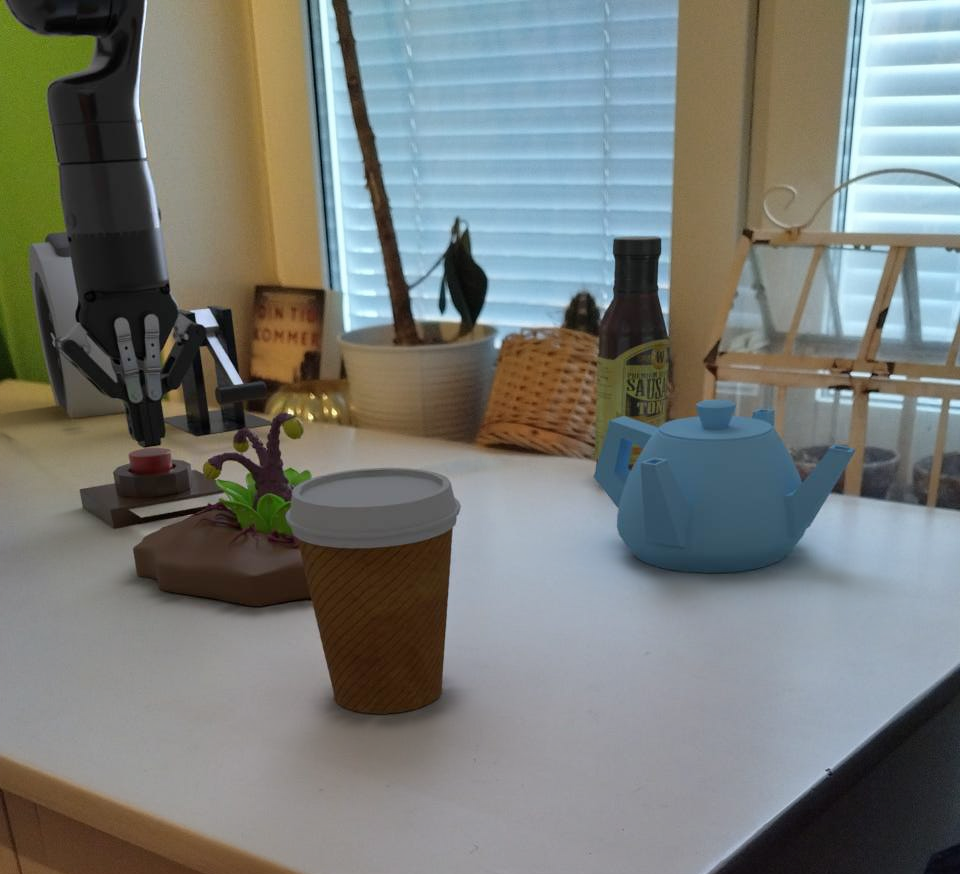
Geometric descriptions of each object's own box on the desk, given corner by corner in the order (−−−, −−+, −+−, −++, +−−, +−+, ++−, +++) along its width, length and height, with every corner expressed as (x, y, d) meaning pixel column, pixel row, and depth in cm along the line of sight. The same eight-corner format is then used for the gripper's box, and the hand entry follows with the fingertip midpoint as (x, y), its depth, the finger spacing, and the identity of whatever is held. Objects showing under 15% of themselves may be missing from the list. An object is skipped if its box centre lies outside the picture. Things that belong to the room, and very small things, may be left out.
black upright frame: (278, 437, 141) (263, 309, 135) (199, 450, 137) (180, 319, 131) (235, 421, 150) (219, 300, 144) (159, 432, 146) (140, 308, 140)
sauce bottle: (630, 490, 115) (634, 241, 106) (580, 479, 120) (579, 239, 110) (680, 476, 119) (688, 235, 109) (629, 466, 123) (633, 232, 114)
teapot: (772, 515, 107) (781, 375, 101) (849, 568, 94) (864, 411, 88) (588, 532, 105) (588, 391, 99) (642, 589, 92) (645, 429, 86)
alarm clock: (52, 405, 164) (18, 229, 154) (113, 398, 166) (83, 225, 156) (78, 435, 146) (41, 240, 137) (145, 427, 149) (114, 234, 139)
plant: (264, 623, 88) (243, 453, 83) (101, 572, 100) (73, 421, 95) (467, 552, 101) (460, 401, 95) (301, 514, 113) (286, 378, 107)
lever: (265, 404, 136) (268, 385, 134) (220, 411, 134) (222, 392, 132) (219, 325, 141) (221, 306, 139) (175, 331, 139) (176, 311, 137)
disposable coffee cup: (336, 739, 71) (313, 519, 65) (287, 681, 79) (262, 480, 73) (496, 705, 74) (487, 492, 69) (433, 653, 82) (421, 458, 76)
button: (139, 479, 113) (136, 458, 112) (126, 472, 116) (122, 451, 115) (179, 472, 115) (176, 452, 114) (165, 465, 118) (162, 445, 117)
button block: (114, 529, 111) (106, 487, 109) (82, 508, 118) (75, 468, 116) (235, 507, 116) (230, 466, 114) (198, 487, 123) (192, 449, 121)
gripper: (175, 217, 112) (205, 427, 120) (19, 230, 106) (61, 450, 114) (208, 220, 106) (236, 440, 114) (44, 233, 100) (87, 464, 109)
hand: (149, 445), depth 114 cm, fingers closed
